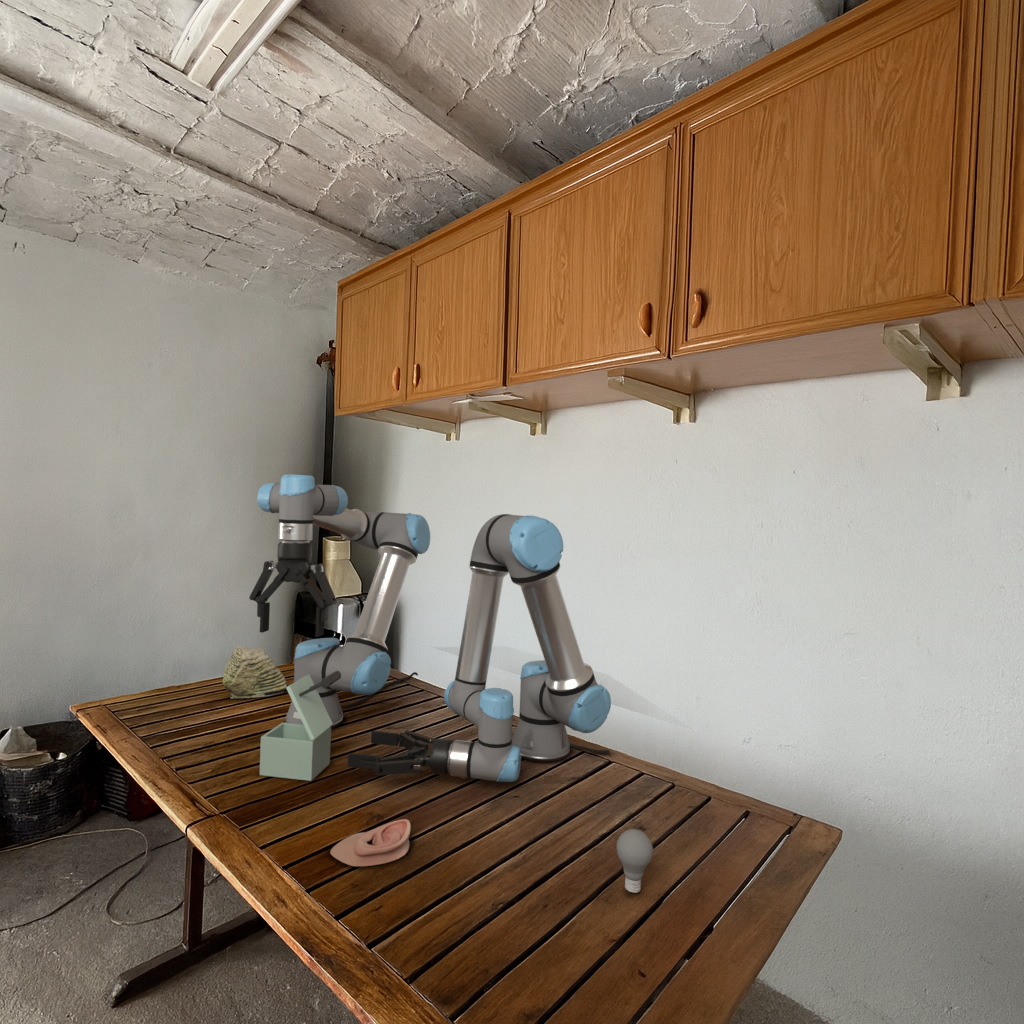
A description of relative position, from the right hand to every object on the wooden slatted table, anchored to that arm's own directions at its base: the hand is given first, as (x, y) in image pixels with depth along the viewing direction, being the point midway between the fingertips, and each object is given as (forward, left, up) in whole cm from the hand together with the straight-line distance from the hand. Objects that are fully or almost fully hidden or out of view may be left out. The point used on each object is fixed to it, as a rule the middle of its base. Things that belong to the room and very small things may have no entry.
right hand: (360, 747), depth 144 cm
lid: (+12, -5, +8) cm, 15 cm away
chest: (+14, -6, -6) cm, 17 cm away
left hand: (+16, -7, +25) cm, 30 cm away
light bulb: (-42, +53, -6) cm, 68 cm away
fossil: (+28, -64, -6) cm, 71 cm away
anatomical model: (0, +31, -6) cm, 32 cm away
